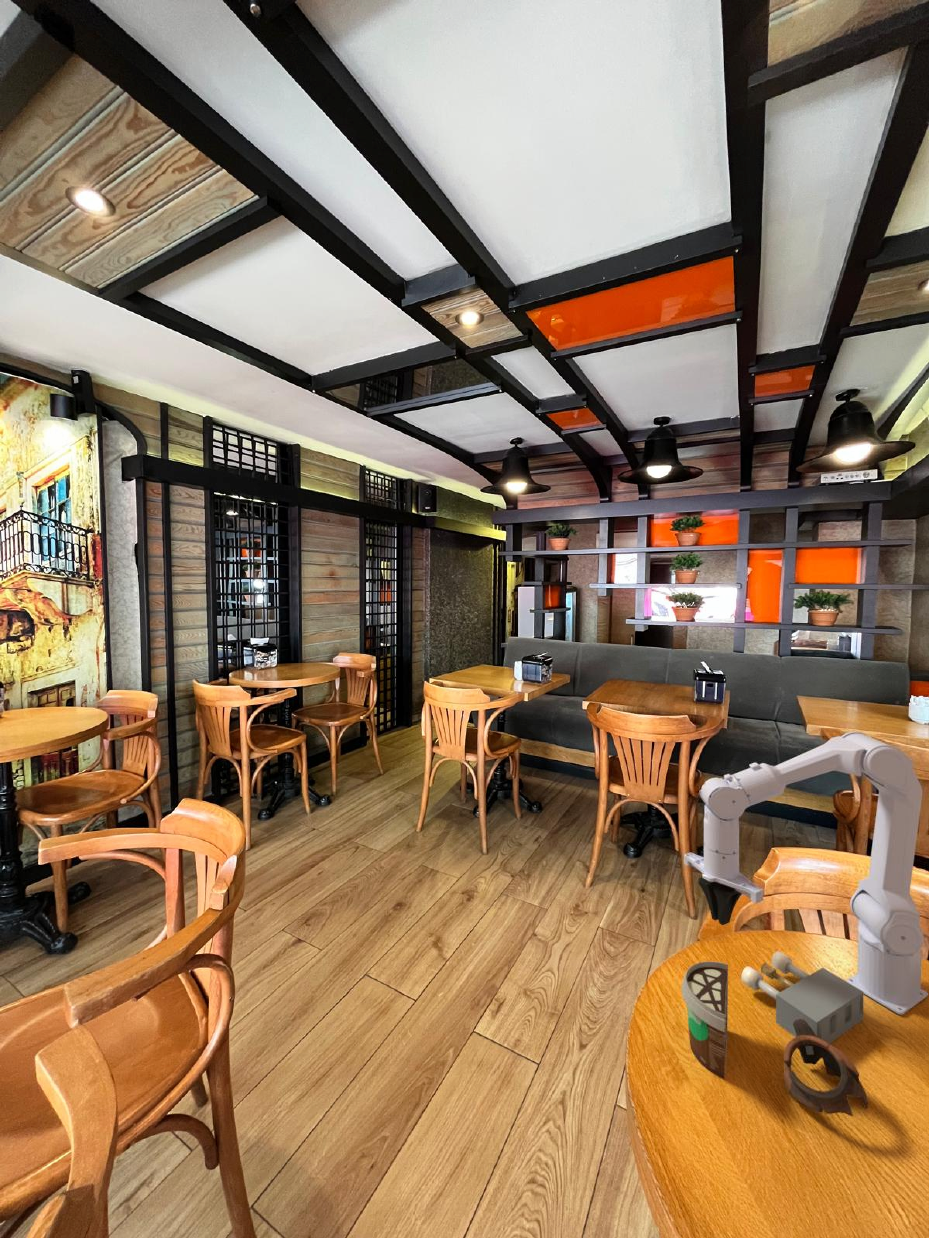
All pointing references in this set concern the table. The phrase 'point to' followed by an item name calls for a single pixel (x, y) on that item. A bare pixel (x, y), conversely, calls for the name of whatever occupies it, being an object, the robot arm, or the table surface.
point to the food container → (708, 1013)
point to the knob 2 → (787, 965)
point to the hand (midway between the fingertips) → (720, 920)
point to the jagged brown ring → (834, 1064)
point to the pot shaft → (774, 974)
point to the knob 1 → (757, 982)
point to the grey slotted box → (820, 1005)
